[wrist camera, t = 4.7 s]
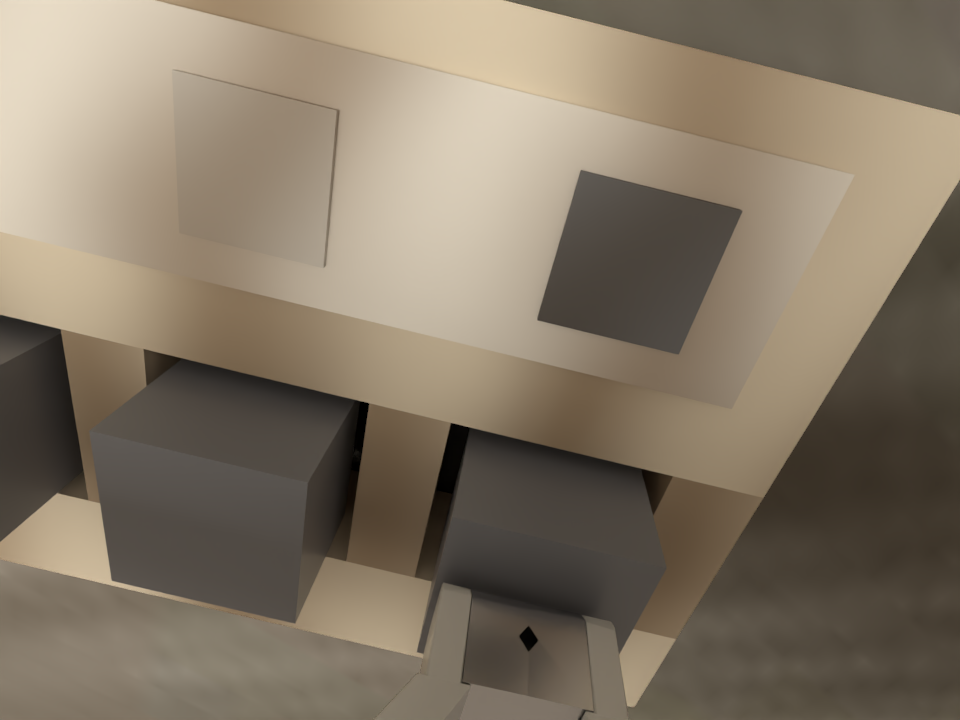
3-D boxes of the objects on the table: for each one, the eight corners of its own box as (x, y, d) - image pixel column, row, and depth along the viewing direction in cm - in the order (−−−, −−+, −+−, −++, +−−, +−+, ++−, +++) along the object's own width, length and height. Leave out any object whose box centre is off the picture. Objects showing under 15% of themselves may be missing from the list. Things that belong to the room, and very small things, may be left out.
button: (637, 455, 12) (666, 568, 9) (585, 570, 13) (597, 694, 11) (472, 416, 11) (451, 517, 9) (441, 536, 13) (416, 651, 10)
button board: (872, 112, 10) (1012, 126, 7) (618, 606, 16) (635, 720, 14) (-205, -158, 10) (-528, -263, 7) (-30, 453, 16) (-157, 535, 13)
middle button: (361, 389, 11) (308, 482, 9) (345, 513, 13) (295, 623, 10) (194, 349, 11) (88, 430, 9) (199, 479, 13) (111, 580, 10)
